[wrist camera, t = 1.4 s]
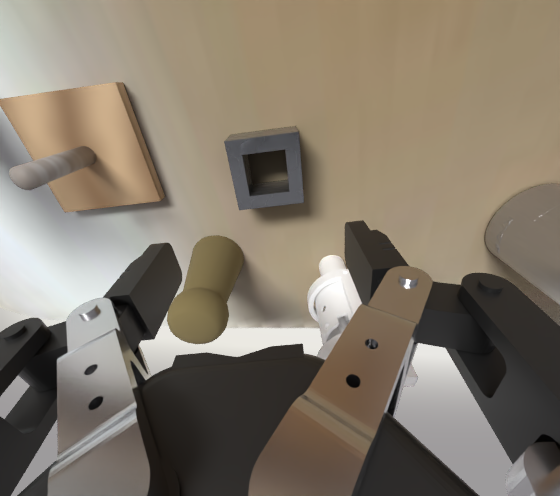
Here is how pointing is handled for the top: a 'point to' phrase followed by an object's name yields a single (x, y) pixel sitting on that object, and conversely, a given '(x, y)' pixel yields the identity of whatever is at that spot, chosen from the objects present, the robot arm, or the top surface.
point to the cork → (206, 291)
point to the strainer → (337, 305)
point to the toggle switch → (83, 147)
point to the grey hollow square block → (268, 191)
